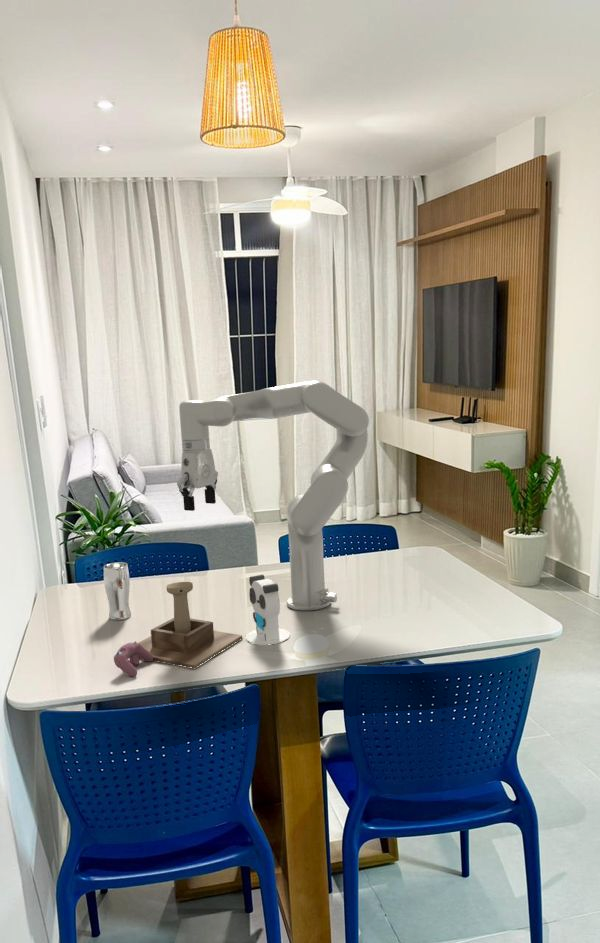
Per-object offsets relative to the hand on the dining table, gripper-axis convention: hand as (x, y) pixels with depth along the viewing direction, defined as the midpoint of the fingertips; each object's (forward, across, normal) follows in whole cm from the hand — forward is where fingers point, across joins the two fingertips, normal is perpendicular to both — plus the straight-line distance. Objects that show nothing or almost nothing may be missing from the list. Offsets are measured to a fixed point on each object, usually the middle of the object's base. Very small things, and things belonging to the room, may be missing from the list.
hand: (200, 506), depth 211 cm
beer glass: (+31, -13, +21) cm, 39 cm away
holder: (+30, -24, -10) cm, 40 cm away
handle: (+30, -24, -10) cm, 39 cm away
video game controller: (+31, -39, -7) cm, 50 cm away
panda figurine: (+31, -10, -26) cm, 41 cm away
